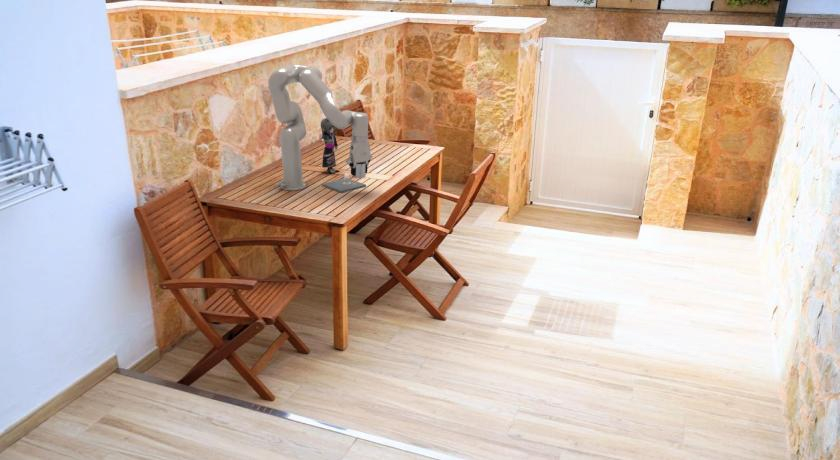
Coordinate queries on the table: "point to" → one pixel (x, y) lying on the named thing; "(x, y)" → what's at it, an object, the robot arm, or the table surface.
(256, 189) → the table surface
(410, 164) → the table surface
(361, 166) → the duct sleeve
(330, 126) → the figurine
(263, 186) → the table surface
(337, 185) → the flange
